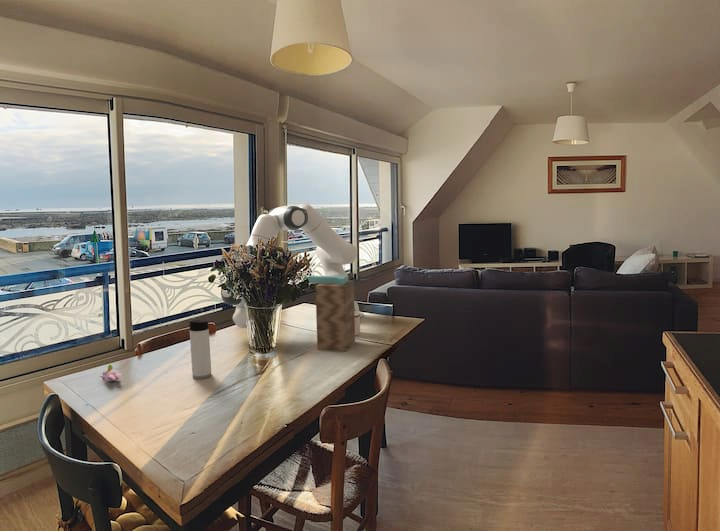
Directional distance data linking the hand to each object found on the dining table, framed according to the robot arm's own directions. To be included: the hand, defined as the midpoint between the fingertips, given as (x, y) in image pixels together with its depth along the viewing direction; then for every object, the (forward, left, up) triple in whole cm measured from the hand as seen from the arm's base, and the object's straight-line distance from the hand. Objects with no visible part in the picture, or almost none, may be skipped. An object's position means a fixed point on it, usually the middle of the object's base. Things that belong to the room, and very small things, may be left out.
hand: (293, 289), depth 212 cm
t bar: (-4, +13, +3) cm, 14 cm away
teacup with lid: (-24, +10, -23) cm, 35 cm away
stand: (-6, +17, -23) cm, 29 cm away
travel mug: (+47, -2, -23) cm, 52 cm away
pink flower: (+66, -25, -23) cm, 74 cm away
